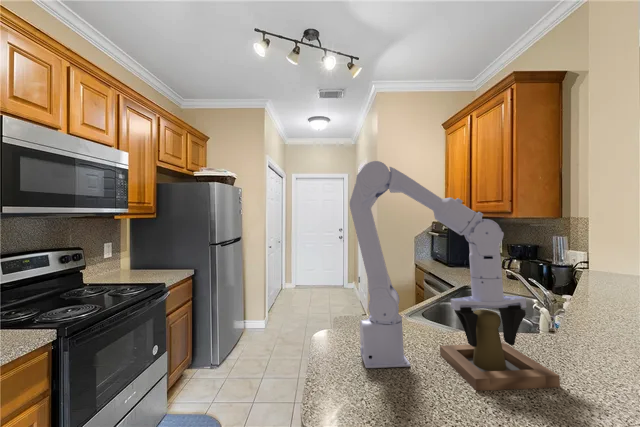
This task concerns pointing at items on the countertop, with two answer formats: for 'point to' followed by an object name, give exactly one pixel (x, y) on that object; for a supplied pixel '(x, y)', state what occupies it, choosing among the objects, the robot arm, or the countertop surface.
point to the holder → (516, 375)
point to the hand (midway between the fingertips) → (490, 344)
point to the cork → (488, 342)
